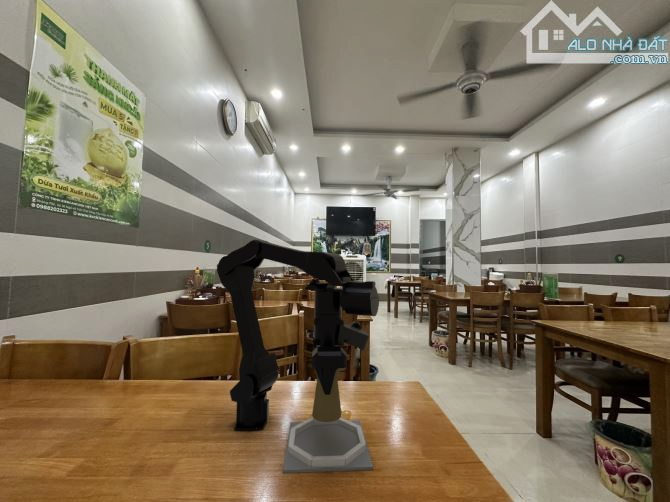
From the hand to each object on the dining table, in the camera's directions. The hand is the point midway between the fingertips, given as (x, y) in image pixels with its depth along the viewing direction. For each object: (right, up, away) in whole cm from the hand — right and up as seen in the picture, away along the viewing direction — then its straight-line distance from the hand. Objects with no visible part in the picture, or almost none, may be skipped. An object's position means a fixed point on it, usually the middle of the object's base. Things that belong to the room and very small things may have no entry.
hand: (327, 389), depth 60 cm
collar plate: (0, -11, -1) cm, 11 cm away
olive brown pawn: (0, -5, 0) cm, 5 cm away
